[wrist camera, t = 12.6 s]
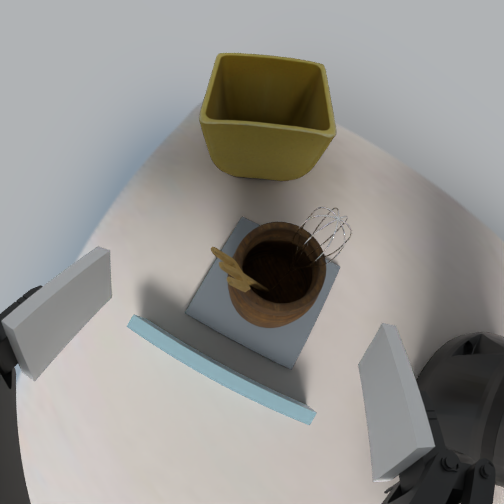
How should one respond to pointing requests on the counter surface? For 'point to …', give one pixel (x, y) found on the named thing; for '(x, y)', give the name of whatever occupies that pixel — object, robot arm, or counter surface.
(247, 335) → the slate pad
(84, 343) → the counter surface
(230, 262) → the utensil holder
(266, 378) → the counter surface
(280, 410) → the acrylic wall
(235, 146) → the flower pot
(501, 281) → the counter surface
